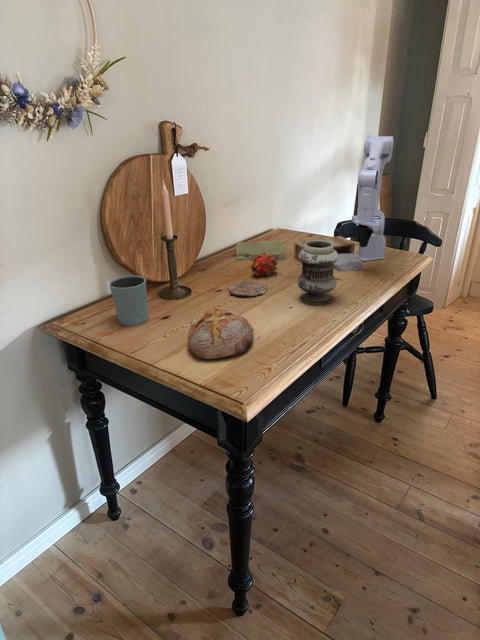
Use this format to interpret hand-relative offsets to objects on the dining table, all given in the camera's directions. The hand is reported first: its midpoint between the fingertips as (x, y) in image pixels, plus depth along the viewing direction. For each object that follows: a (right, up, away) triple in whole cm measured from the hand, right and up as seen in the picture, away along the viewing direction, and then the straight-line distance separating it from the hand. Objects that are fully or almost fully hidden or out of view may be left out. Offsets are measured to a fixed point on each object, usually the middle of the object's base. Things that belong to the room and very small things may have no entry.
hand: (363, 246), depth 163 cm
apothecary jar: (-19, -19, -15) cm, 31 cm away
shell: (-40, -16, -7) cm, 44 cm away
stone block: (-4, -6, +12) cm, 14 cm away
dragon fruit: (-34, -9, +6) cm, 36 cm away
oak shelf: (-10, -1, +21) cm, 23 cm away
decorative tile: (-34, +1, +29) cm, 45 cm away
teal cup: (-74, -25, -25) cm, 82 cm away
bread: (-47, -32, -40) cm, 70 cm away
